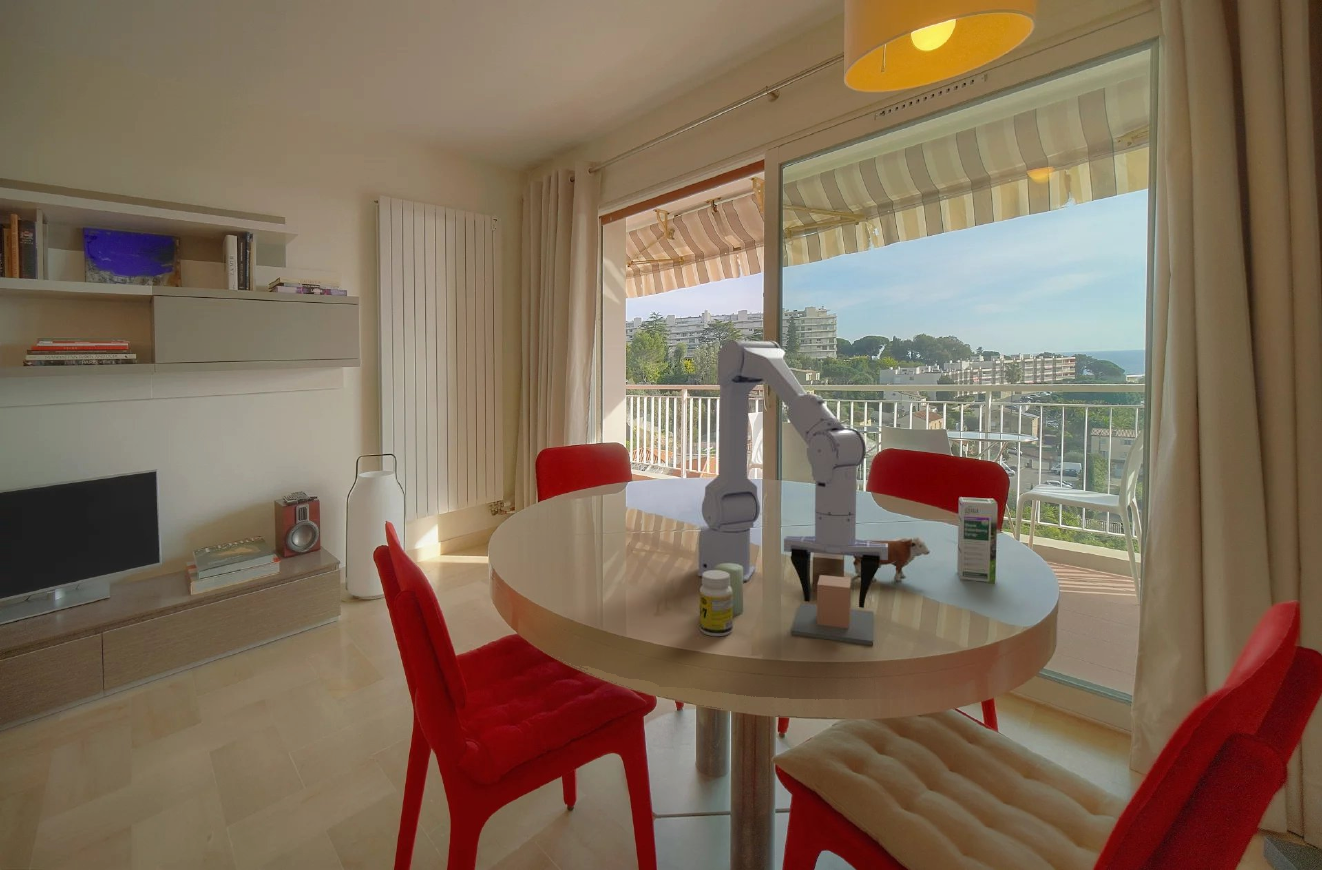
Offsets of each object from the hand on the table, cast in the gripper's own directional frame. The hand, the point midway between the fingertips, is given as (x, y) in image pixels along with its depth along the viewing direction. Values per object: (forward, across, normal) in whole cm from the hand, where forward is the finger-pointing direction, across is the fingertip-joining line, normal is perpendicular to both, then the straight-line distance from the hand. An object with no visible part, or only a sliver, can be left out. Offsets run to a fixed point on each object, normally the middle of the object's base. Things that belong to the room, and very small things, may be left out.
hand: (834, 602), depth 86 cm
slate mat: (+3, 0, 0) cm, 3 cm away
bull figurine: (+4, +8, +24) cm, 26 cm away
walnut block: (+3, -2, +16) cm, 17 cm away
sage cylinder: (+3, -16, 0) cm, 16 cm away
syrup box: (+4, +23, +30) cm, 38 cm away
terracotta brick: (+3, 0, 0) cm, 3 cm away
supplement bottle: (+4, -16, -8) cm, 18 cm away
